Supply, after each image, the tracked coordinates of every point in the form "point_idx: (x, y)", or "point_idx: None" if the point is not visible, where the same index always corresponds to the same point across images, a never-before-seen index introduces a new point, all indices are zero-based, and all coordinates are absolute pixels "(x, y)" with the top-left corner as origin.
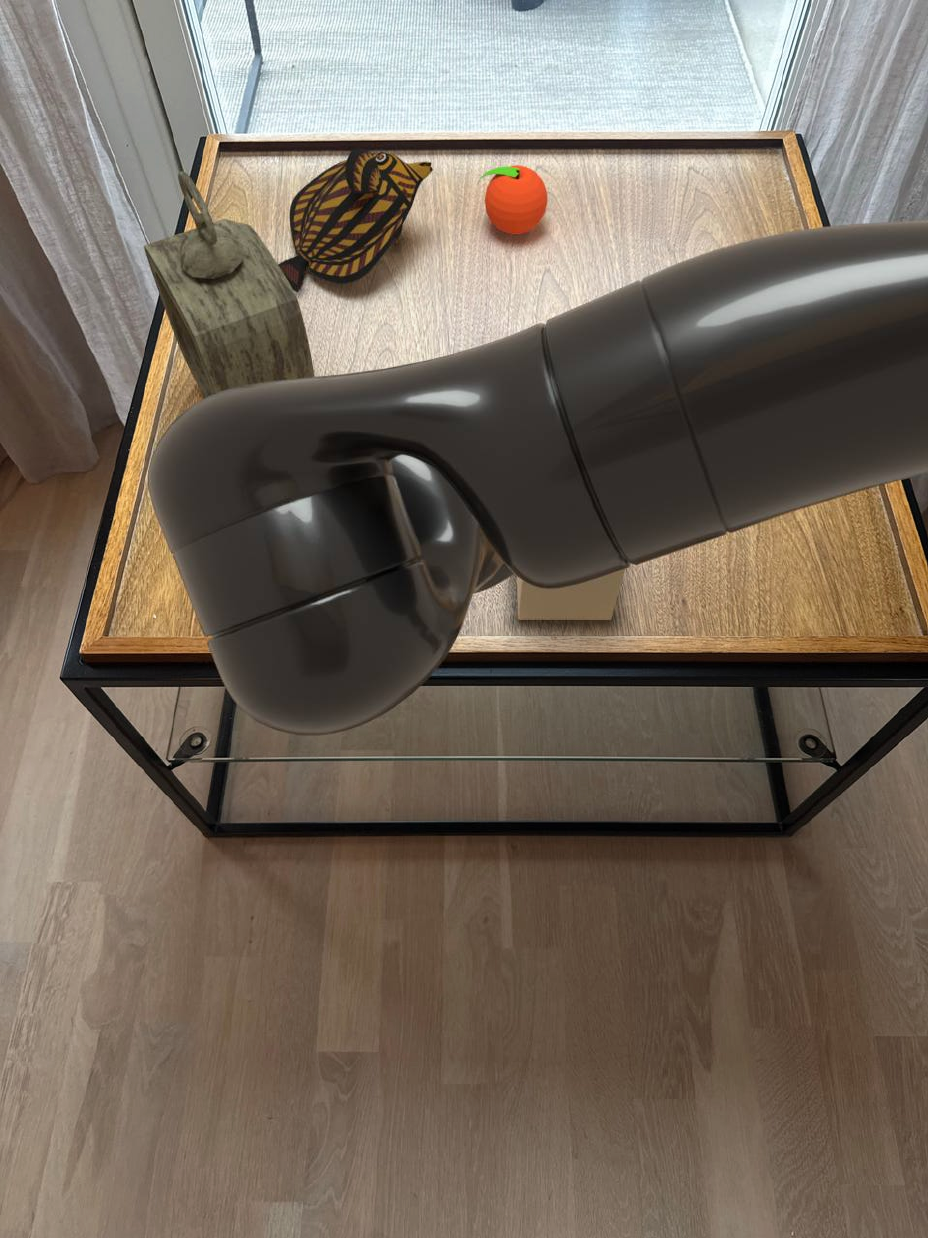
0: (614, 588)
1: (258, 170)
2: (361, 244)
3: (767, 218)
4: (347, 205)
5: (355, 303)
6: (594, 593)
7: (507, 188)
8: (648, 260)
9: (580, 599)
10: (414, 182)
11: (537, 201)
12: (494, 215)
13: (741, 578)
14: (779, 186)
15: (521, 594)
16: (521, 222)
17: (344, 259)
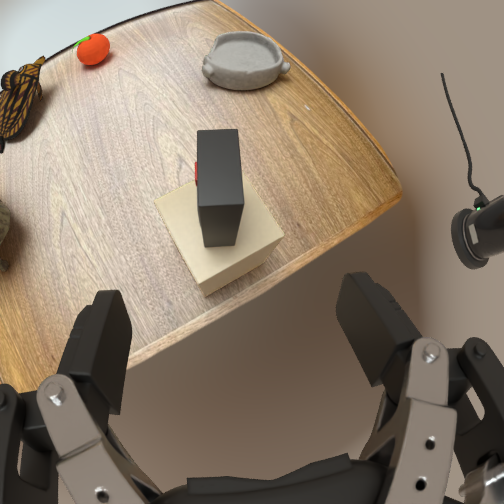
0: (268, 254)
1: None
2: (19, 111)
3: (219, 17)
4: (9, 98)
5: (27, 139)
6: (254, 263)
7: (86, 45)
8: (171, 44)
9: (244, 270)
10: (37, 68)
11: (103, 43)
12: (83, 59)
13: (319, 192)
14: (217, 8)
15: (203, 293)
16: (98, 55)
17: (15, 123)
